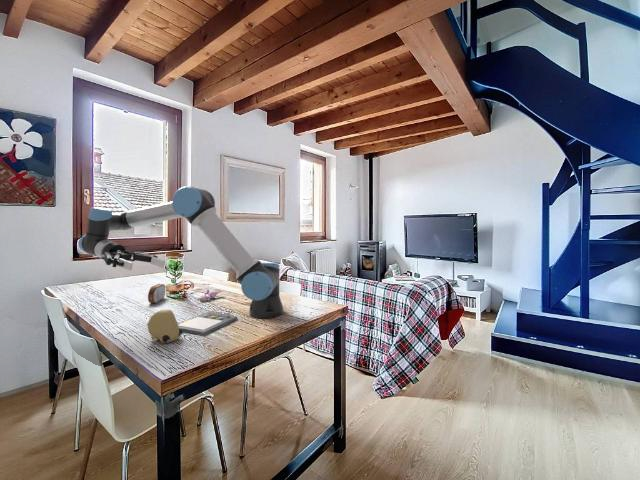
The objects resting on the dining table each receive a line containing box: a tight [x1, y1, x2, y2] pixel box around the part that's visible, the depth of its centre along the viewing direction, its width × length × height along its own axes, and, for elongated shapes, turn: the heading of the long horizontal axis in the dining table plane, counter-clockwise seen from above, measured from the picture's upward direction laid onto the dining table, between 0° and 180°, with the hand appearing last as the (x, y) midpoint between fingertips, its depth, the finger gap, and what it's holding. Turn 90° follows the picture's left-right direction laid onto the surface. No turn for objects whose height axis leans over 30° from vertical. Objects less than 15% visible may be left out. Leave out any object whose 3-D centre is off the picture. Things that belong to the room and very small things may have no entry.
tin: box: [147, 283, 167, 304], centre depth 160 cm, size 15×3×8 cm, turn 4°
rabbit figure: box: [196, 289, 222, 303], centre depth 164 cm, size 6×6×15 cm
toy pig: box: [146, 309, 183, 344], centre depth 110 cm, size 10×12×11 cm
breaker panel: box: [177, 309, 238, 336], centre depth 126 cm, size 16×20×3 cm
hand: (148, 265), depth 116 cm, fingers open, 13 cm apart
